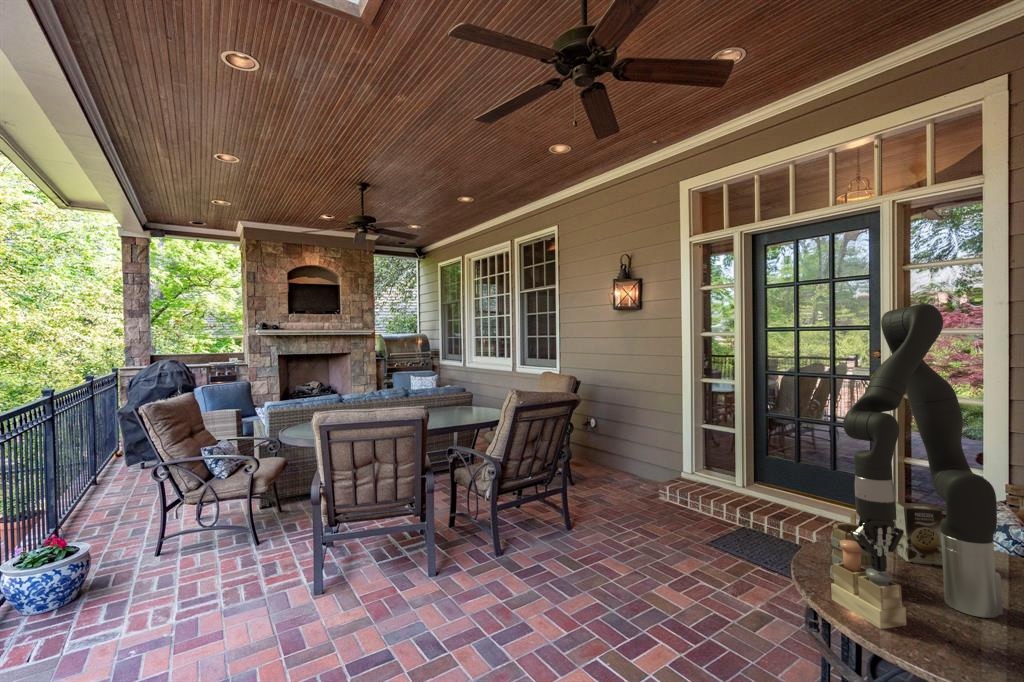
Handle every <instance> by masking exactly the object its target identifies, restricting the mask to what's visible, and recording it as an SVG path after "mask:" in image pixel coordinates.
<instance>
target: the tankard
mask: <svg viewBox="0 0 1024 682" xmlns="http://www.w3.org/2000/svg"><path fill="white" fill-rule="evenodd" d="M849 517H850V518H849V519H850V522H839V523H834V524H833V527H832V531H831V536H830V538H829V540H830V544H831V546H833V548H832V552H831V554H830V556H831V563H832V564H830V570H829V578H830V579H831V580H833V581H834V572H833V564H836V563H843V549H842V548H841V547H840V541H841V540H851V541H855V540H854V538H853V537H852V536H851V534H850V532H851V531H852V530H853V531H856V530H857V529H858V528H859V525H858V524H857V513H853V512H851V513H850V514H849ZM860 553H861V566H862V567H864V568H866V569H869V568H872V566H871V556H870V553H868V552H866V551H864V550H863V551H862V552H860Z"/></svg>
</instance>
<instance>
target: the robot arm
mask: <svg viewBox="0 0 1024 682" xmlns="http://www.w3.org/2000/svg"><path fill="white" fill-rule="evenodd" d="M880 322H881V324H880V325H881V330H882V335H883V336H884V339H885V342H886V344H887V347H888V348H889V350H890V351H889V352H891V355H889V356H888V358H887V359H886V360H885V361H883V362H882V363H881V364H880V365H879V366H878V367H877V368H876V370H875V371H874V372H873V373H872V376H871V378H870V380H869V382H868V385H867V387H866V389H865V392H864V393H863V394H862V396H860V397H859V398H858V399H857V401H856V402H855V403H854V404H853V405H852V406H851V408H849V410H848V411H847V412H846V413H845V416H844V417H843V423H842V427H843V430H844V433H845V435H847V436H848V437H849V438H851V439H853V440H859V441H866V442H874V444H873V447H872V449H863V450H858V451H855V453H854V456H853V457H854V458H853V459H854V461H853V462H854V497H855V512H856V515H858V516H859V521H858V525H859V528H858V529H857V530H856V531H853V530H852V531H851V532H850V534H851V536H852V537H853V538H854V540H855V541H856V542H857V543H858V545H859V546H860V547H861V549H862V550H864V551H866V552H868V553H870V556H871V566H872V568H873V569H874V570H876V571H878V572H884V571H886V572H887V569H888V563H887V561H888V560H887V556H888V555H889V553H894V552H895V551H896V549H897V548H898V543H899V541H900V539H901V537H902V535H903V534H904V531H903V530H902V529H899V528H897V525H895V520H897V518H896V489H895V485H894V480H893V466H892V462H893V456H894V452H895V449H896V444H897V442H898V438H899V435H900V426H899V423H898V420H897V419H896V417H894V416H893V415H892V414H890V413H886V412H891V411H895V410H897V409H898V408H899V407H900V404H901V402H902V400H903V397H904V395H905V393H906V396H907V401H908V404H909V406H910V409H911V410H910V411H911V413H912V416H913V418H914V421H915V424H916V427H917V430H918V433H919V435H920V438H921V441H922V443H923V446H924V449H925V452H926V456H927V460H928V467H929V472H930V477H931V479H930V480H931V483H932V487H933V489H934V490H935V492H936V494H937V495H938V496H939V497H940V498H941V499H943V500H944V501H945V509H946V510H945V511H946V512H945V513H946V514H945V518H942V521H941V522H940V529H941V544H942V561H943V565H942V576H943V577H942V578H943V591H944V595H943V596H944V602H945V604H946V605H948V606H949V607H950V608H952V609H954V610H955V611H958V612H961V613H962V614H967V615H970V616H973V617H979V618H984V619H985V618H986V619H987V618H988V619H992V618H993V619H994V618H997V617H998V616H1003V615H1004V610H1003V595H1002V579H1001V578H1002V577H1001V574H1000V573H999V572H997V571H996V559H995V546H994V535H995V533H996V531H997V527H998V516H997V515H998V505H997V504H998V503H997V502H998V501H997V494H996V491H995V488H994V486H993V484H991V482H990V481H988V480H987V479H986V478H984V477H982V476H980V475H978V474H976V473H975V472H973V471H972V469H971V467H970V466H969V463H968V460H967V457H966V455H965V453H964V450H963V444H962V436H963V428H964V426H963V423H964V422H963V421H964V419H963V412H962V408H961V405H960V402H959V400H958V397H957V393H956V391H955V389H954V387H953V386H952V384H950V383H949V382H948V381H947V380H946V379H945V378H944V377H943V376H941V375H940V374H939V373H938V372H937V371H935V370H934V369H933V367H931V366H930V365H929V364H927V362H926V360H924V358H926V355H927V354H928V353H929V351H930V349H931V348H932V346H933V345H934V344H935V342H936V341H937V340H938V338H939V336H940V335H941V332H942V331H943V327H944V317H943V315H942V312H941V311H940V310H939V309H938V308H937V307H936V306H934V305H932V304H928V303H919V304H914V305H909V306H906V307H901V308H900V307H899V308H895V309H891V310H889V311H887V312H885V313H884V314H883V316H882V317H881V321H880Z"/></svg>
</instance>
